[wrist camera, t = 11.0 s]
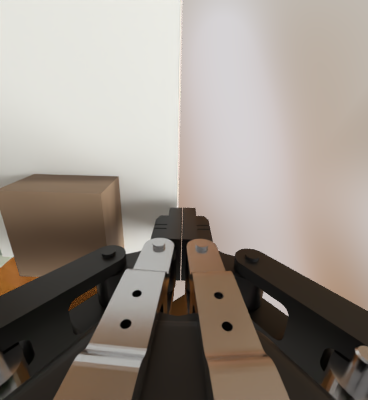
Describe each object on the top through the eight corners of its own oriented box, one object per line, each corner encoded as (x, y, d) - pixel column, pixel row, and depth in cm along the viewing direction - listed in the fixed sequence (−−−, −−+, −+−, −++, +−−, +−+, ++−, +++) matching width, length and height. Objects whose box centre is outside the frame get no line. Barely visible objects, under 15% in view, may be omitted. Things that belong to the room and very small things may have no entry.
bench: (-27, -14, 13) (-99, -56, 10) (182, -7, 13) (181, -47, 10) (34, 231, 19) (2, 256, 16) (177, 235, 19) (175, 261, 16)
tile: (34, 173, 13) (-6, 190, 10) (118, 176, 13) (100, 193, 11) (50, 245, 15) (19, 276, 12) (124, 247, 15) (110, 278, 12)
